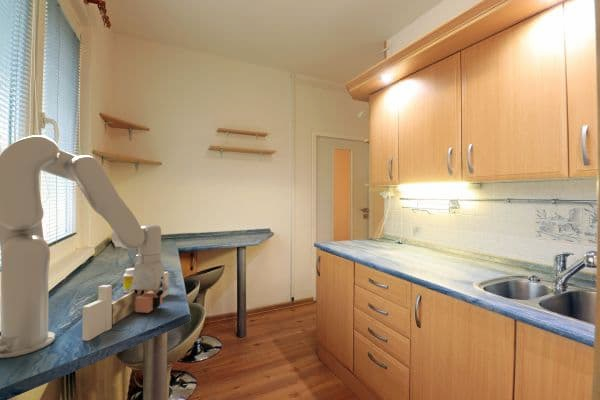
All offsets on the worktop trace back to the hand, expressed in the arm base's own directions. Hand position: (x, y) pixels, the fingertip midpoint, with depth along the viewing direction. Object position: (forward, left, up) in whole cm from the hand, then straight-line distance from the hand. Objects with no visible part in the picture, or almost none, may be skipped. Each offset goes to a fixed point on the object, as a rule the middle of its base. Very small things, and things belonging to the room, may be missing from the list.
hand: (149, 306), depth 103 cm
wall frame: (-1, +5, -2) cm, 5 cm away
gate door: (-2, +6, -2) cm, 6 cm away
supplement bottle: (+19, +23, -2) cm, 30 cm away
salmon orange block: (0, 0, -1) cm, 1 cm away
